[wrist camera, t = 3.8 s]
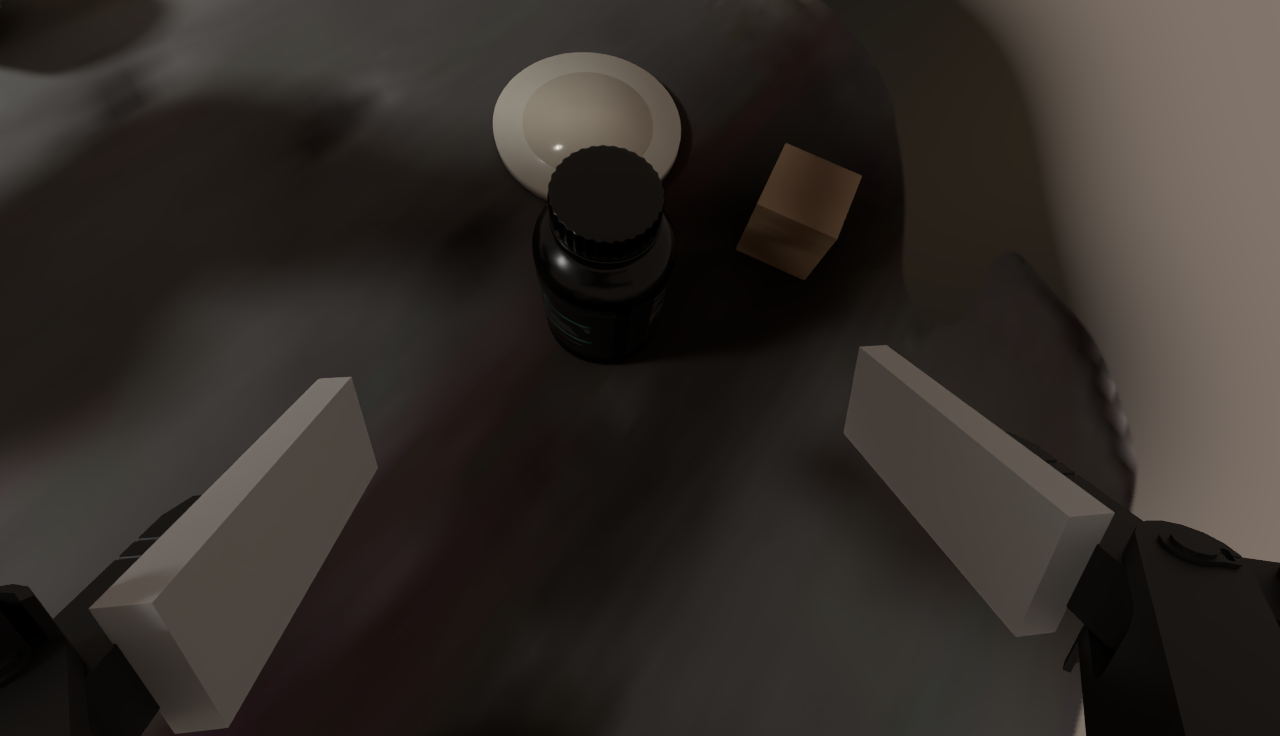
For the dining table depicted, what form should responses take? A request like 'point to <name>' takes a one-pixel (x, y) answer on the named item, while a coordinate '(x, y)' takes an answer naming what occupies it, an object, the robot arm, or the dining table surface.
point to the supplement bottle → (604, 253)
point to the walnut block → (799, 212)
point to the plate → (582, 115)
